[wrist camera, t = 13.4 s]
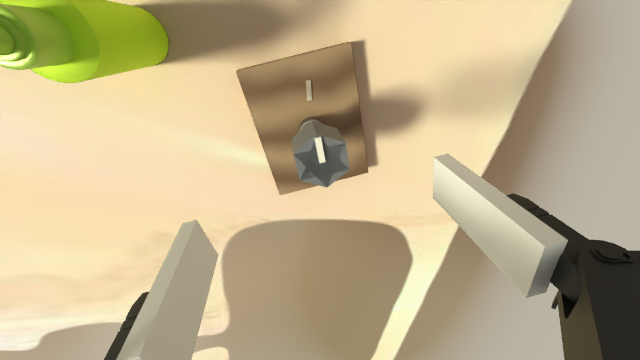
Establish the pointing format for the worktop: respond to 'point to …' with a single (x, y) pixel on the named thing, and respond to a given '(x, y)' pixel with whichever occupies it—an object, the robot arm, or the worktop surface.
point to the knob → (320, 154)
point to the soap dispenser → (78, 38)
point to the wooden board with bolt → (304, 107)
